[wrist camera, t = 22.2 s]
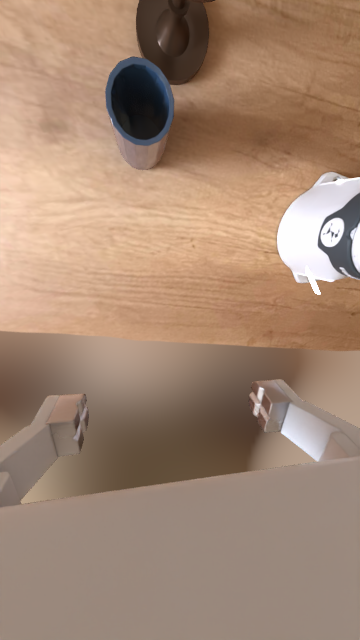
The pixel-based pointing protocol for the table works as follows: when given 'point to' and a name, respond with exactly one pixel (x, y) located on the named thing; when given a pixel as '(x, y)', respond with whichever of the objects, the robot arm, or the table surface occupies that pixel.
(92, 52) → the table surface
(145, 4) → the candlestick
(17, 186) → the table surface
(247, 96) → the table surface
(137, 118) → the cup
